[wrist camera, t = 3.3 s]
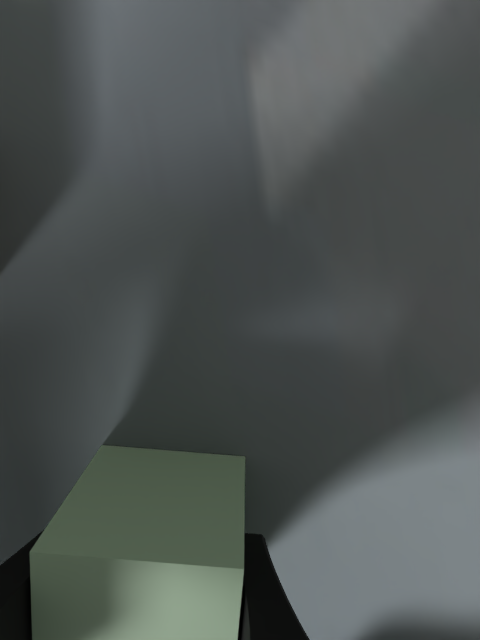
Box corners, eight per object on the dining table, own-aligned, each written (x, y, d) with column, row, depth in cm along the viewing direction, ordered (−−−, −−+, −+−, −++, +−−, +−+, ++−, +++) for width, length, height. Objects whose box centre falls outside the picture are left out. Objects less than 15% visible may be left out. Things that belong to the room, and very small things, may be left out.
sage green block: (100, 567, 14) (34, 719, 10) (101, 445, 13) (29, 552, 9) (234, 578, 14) (228, 735, 10) (245, 456, 13) (244, 569, 9)
